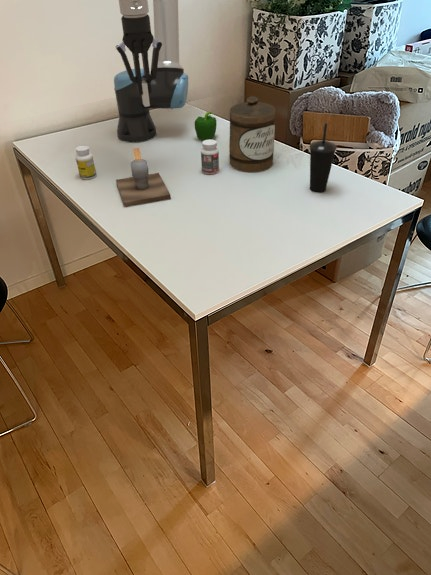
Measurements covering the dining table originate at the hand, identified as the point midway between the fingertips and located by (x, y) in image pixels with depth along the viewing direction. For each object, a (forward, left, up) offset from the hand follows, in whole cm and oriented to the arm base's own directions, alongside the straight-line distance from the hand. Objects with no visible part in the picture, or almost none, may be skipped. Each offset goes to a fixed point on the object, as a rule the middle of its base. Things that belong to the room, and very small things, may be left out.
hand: (146, 104), depth 136 cm
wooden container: (+4, +33, -23) cm, 40 cm away
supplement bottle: (-6, -21, -23) cm, 32 cm away
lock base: (+11, -6, -22) cm, 25 cm away
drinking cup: (+29, +45, -23) cm, 58 cm away
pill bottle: (+5, +18, -23) cm, 29 cm away
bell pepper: (-22, +25, -23) cm, 40 cm away
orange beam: (+6, -6, -17) cm, 19 cm away
